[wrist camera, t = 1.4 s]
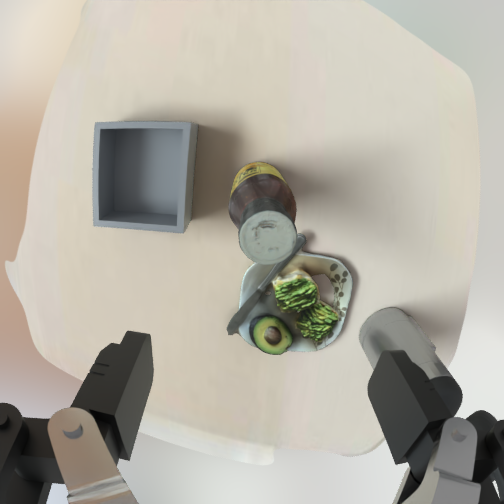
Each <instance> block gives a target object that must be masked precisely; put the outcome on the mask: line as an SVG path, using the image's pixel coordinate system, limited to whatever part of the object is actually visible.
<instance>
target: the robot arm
mask: <svg viewBox="0 0 504 504" xmlns="http://www.w3.org/2000/svg"><path fill="white" fill-rule="evenodd" d="M359 340H360V344H361V346H362V348H363V350H364V352H365V354H366V356H367V358H368V360H369V362H370V364H371V366H372V368H373V370H374V371H373V373H372V376H371V378H370V380H369V383H368V396H369V399H370V401H371V404H372V406H373V409H374V411H375V414H376V416H377V418H378V421H379V423H380V426H381V428H382V431H383V433H384V436H385V438H386V441H387V443H388V446H389V448H390V451H391V454H392V456H393V459H394V462H395V464H396V465H397V464H402V463H406V462H408V463H409V468H408V469H407V470H406V472H405V474H404V477H403V479H402V482H401V485H400V487H399V489H398V492H397V494H396V497H395V499H394V502H393V504H504V420H500V421H497V420H496V419H495V417H493V416H492V415H491V414H490V413H488V412H486V411H484V410H480V411H476V412H475V413H473V414H472V415H470V416H469V417H468V418H466V419H463V418H460V417H454V416H455V414H456V413H457V411H458V409H459V407H460V405H461V403H462V398H463V397H462V395H463V394H462V390H461V388H460V387H459V385H458V384H457V382H456V381H455V379H454V378H453V377H452V375H451V374H450V372H449V371H448V370H447V368H446V367H445V365H444V364H443V363H442V362H441V360H440V359H439V357H438V356H437V355H436V353H435V350H436V347H435V346H434V344H433V343H432V342H431V341H430V339H429V338H428V337H427V335H426V334H425V333H424V332H423V330H422V329H421V328H420V327H419V325H418V324H417V323H416V322H415V320H414V319H413V318H412V317H411V316H407V315H406V314H405V313H404V312H403V311H401V310H400V309H397V308H386V309H382V310H380V311H378V312H376V313H374V314H373V315H372V316H370V317H369V318H368V319H367V321H366V322H365V323H364V325H363V326H362V328H361V331H360V335H359ZM153 373H154V368H153V357H152V345H151V336H150V334H146V333H140V332H134V331H127V332H126V334H125V336H124V338H123V340H122V342H121V343H120V344H115V343H111V344H109V345H108V346H107V347H105V348H104V349H103V350H101V351H100V353H99V355H98V357H97V358H96V360H95V363H94V364H93V366H92V367H91V369H90V373H88V375H87V377H86V378H85V380H84V382H83V384H82V386H81V388H80V390H79V391H78V393H77V395H76V397H75V399H74V401H73V403H72V405H71V407H70V408H64V409H61V410H59V411H57V412H56V413H55V414H53V416H52V417H51V418H50V419H40V418H26V417H22V415H21V413H20V412H19V410H18V409H17V408H16V407H15V406H13V405H11V404H8V403H0V504H46V502H47V499H48V495H49V492H50V489H51V485H52V483H58V484H65V485H66V487H67V490H68V493H69V495H68V496H67V500H68V503H69V504H138V502H137V500H136V499H135V497H134V495H133V494H132V492H131V490H130V489H129V487H128V485H127V483H126V482H125V480H124V479H123V477H122V476H121V474H120V472H119V470H118V468H117V464H118V460H119V458H120V459H124V460H128V461H129V460H130V457H131V454H132V450H133V446H134V443H135V439H136V435H137V432H138V429H139V426H140V422H141V419H142V415H143V412H144V409H145V406H146V402H147V399H148V396H149V393H150V389H151V386H152V382H153ZM494 480H495V481H496V483H497V486H498V491H499V497H500V499H499V497H498V494H497V492H496V490H495V487H494V485H493V483H492V482H493V481H494Z"/></svg>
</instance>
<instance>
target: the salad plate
mask: <svg viewBox="0 0 504 504" xmlns="http://www.w3.org/2000/svg"><path fill="white" fill-rule="evenodd" d="M305 244H306V237H305V236H304V235H303V234H300V233H299V234H297V243H296V245H295V248H294V250H293V252H292V253H291V255H290V256H288V257H287V258H286V259H285V260H283V261H281V262H279V263H275V264H271V265H263V264H259V263H256V262H255V263H254V264H253V265H251V266H250V267H249V268H248V269H247V271H246V273H245V275H244V278H243V281H242V285H241V295H240V305H239V306H240V307H239V311H238V312H237V313H236V314H235V315H234V316H233V317H232V319H231V320H230V322H229V324H228V327H227V331H228V335H233V334H234V333H238V334H239V335H240V336H241V337H242V338H243V339H244V340H245V341H246V342H247V343H248V344H250V345H252V346H254V347H257V348H259V349H260V350H261V351H263V352H265V353H268V354H272V355H281V354H283V353H284V352H287V351H298V352H311V351H317V350H320V349H322V348H324V347H326V346H327V345H329V344H330V343H331V342H333V341H334V340H335V339H336V338H337V337H338V335H339V333H340V331H341V329H342V326H343V323H344V320H345V316H346V312H347V308H348V304H349V301H350V299H351V298H350V297H351V292H352V287H353V280H352V277H351V274H350V271H349V270H348V269H347V267H346V266H345V265H344V263H343V262H342V261H341V260H339V259H336V258H333V257H328V256H324V255H318V254H310V253H306V252H303V251H302V248H303V246H304V245H305ZM319 274H325V275H326V276H327V277H328V278H329V279H330V281H331V283H332V286H333V288H334V295H335V296H334V304H333V308H332V307H331V306H329V305H328V304H326V303H325V302H323V301H320V295H319V288H318V285H317V284H316V282H314V281H313V280H312V278H311V277H312V276H314V275H319ZM266 291H270V292H271V294H270V295H266V294H265V293H266ZM298 311H300V312H298Z"/></svg>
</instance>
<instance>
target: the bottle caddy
mask: <svg viewBox="0 0 504 504" xmlns="http://www.w3.org/2000/svg"><path fill="white" fill-rule="evenodd" d="M197 134H198V124H195V123H191V122H164V121H124V122H95V128H94V146H93V224H94V226H98V227H111V228H124V229H136V230H148V231H161V232H173V233H184V232H185V230H186V228H187V227H188V225H189V223H190V221H191V216H192V198H193V183H194V170H195V157H196V145H197Z"/></svg>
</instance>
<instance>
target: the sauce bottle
mask: <svg viewBox="0 0 504 504" xmlns="http://www.w3.org/2000/svg"><path fill="white" fill-rule="evenodd" d="M296 210H297V209H296V202H295V199H294V196H293V194H292V192H291V190H290V188H289V186H288V185H287V183H286V182H285V180H284V179H283V177H282V176H281V174H280V173H279V172H278V170H277V169H276V168H274V167H273V166H271V165H269V164H267V163H263V162H254V163H250V164H248V165H246V166H244V167H243V168H242V169H241V170H240V171H239V172H238V173H237V175H236V177H235V179H234V183H233V187H232V191H231V195H230V200H229V215H230V218H231V219H232V221H233V223H234V224H235V225H236V227H237V228H238V229H239V231H238V234H239V243H240V247H241V249H242V251H243V252H244V254H245V255H246V256H247V257H248V258H249V259H251V260H252V261H254V262H256V263H259V264H263V265H271V264H275V263H279V262H281V261H283V260H285V259H286V258H287V257H288V256H290V255H291V253H292V252H293V250H294V248H295V245H296V243H297V230H296V227H295V224H294V223H295V218H296Z"/></svg>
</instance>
